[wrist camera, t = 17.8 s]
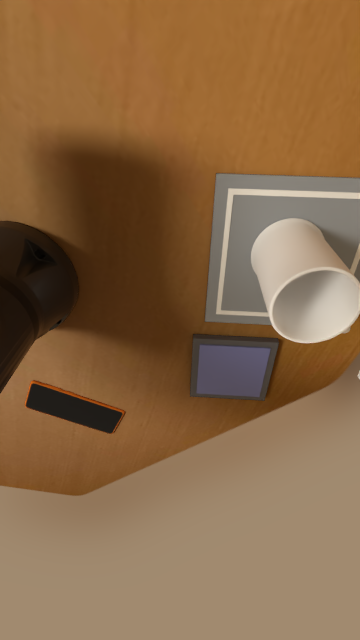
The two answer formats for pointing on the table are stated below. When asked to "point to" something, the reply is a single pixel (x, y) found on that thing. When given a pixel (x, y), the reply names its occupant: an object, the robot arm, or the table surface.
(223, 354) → the ink pad
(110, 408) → the smartphone
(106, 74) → the table surface
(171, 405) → the table surface
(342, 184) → the print mat
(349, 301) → the mug
